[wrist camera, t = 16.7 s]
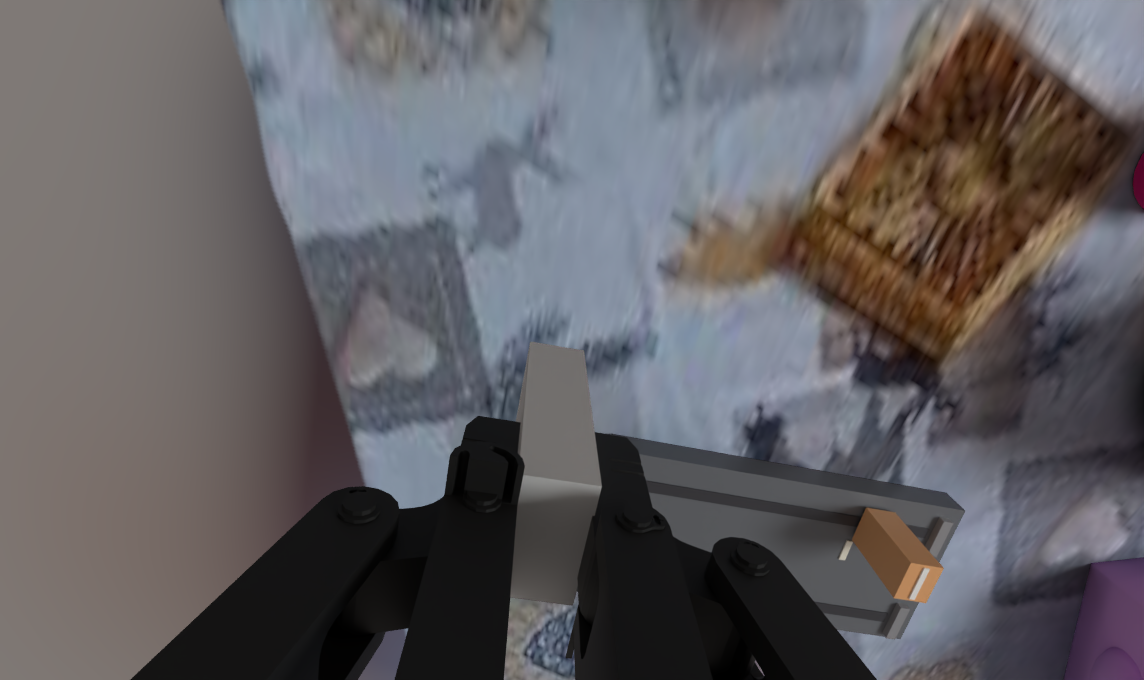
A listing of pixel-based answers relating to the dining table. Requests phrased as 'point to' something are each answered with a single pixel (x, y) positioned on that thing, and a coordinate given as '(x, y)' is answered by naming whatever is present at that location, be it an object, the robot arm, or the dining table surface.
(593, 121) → the dining table surface
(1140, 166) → the pepper mill
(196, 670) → the robot arm
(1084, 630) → the teapot
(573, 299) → the dining table surface
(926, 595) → the orange fader
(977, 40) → the dining table surface
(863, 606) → the console
